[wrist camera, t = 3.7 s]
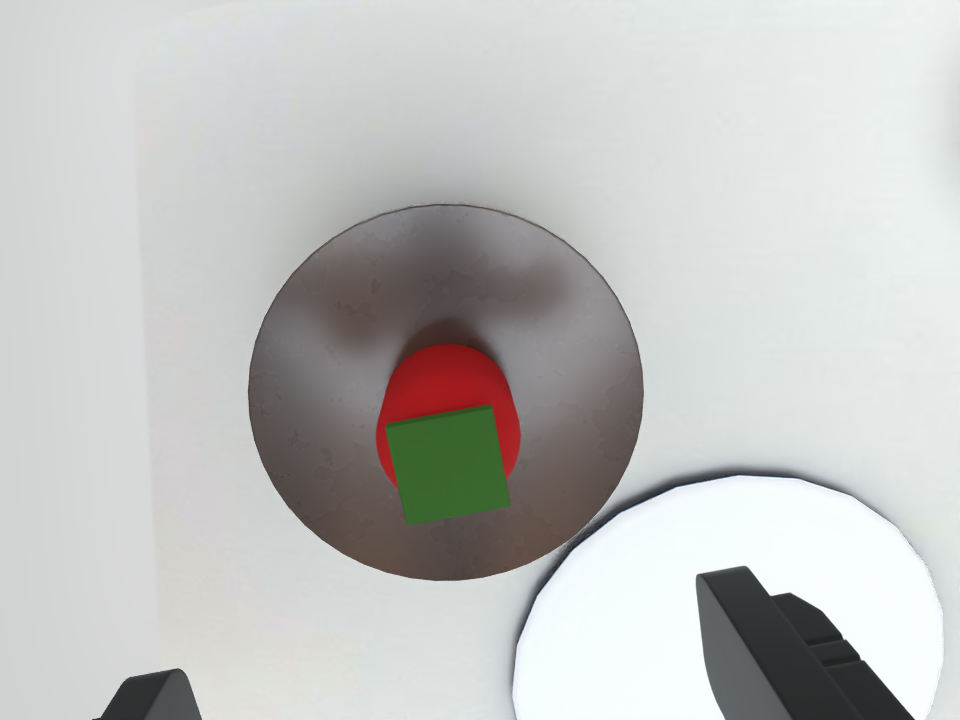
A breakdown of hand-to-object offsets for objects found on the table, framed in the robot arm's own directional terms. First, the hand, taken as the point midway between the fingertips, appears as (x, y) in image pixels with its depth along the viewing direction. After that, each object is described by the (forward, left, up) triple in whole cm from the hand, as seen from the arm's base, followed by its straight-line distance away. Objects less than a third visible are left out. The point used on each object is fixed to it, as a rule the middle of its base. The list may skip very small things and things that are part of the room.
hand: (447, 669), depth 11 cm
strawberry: (0, 0, -13) cm, 13 cm away
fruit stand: (0, 0, -26) cm, 26 cm away
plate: (+12, -23, -26) cm, 37 cm away
